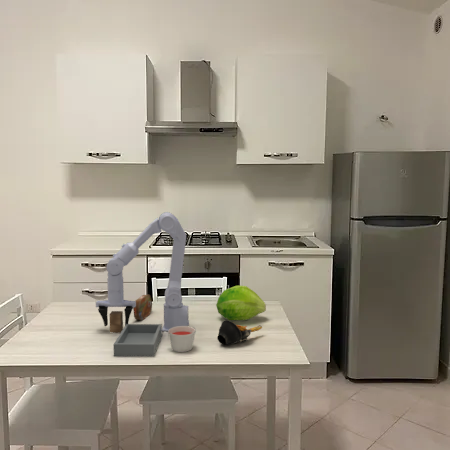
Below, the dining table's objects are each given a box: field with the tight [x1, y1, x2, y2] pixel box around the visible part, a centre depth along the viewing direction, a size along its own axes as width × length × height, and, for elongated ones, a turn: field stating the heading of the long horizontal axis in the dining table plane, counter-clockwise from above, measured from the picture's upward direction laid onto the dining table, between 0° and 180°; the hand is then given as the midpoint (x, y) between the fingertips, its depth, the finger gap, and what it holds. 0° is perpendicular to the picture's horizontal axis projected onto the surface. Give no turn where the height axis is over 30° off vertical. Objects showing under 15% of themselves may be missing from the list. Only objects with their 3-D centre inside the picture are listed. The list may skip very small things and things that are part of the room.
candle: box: [168, 325, 196, 353], centre depth 160 cm, size 9×9×6 cm
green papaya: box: [215, 285, 267, 322], centre depth 190 cm, size 15×20×14 cm
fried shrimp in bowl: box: [216, 319, 263, 346], centre depth 167 cm, size 9×11×18 cm
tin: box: [132, 294, 153, 321], centre depth 193 cm, size 15×3×8 cm, turn 168°
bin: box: [113, 323, 163, 357], centre depth 163 cm, size 13×20×4 cm, turn 0°
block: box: [108, 310, 124, 334], centre depth 176 cm, size 4×4×7 cm
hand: (116, 325), depth 176 cm, fingers open, 7 cm apart
